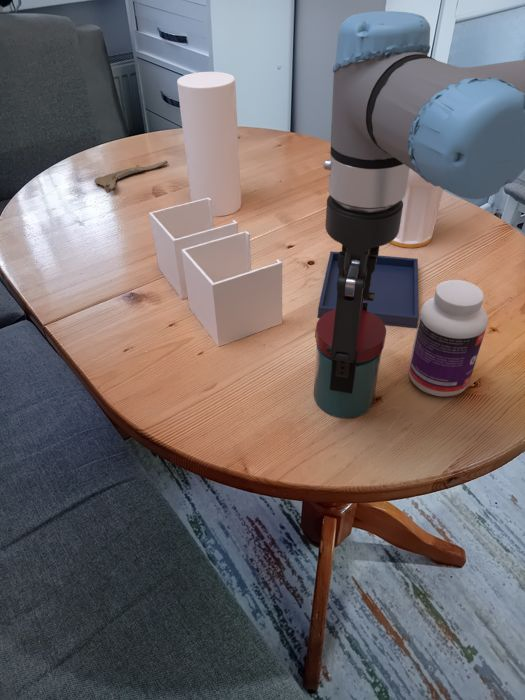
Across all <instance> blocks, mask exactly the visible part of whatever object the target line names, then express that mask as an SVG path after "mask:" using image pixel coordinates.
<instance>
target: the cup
mask: <svg viewBox="0 0 525 700" xmlns="http://www.w3.org/2000/svg"><path fill="white" fill-rule="evenodd" d="M443 193H444V189H442V188H441V187H439V186H434V185H432V184H431V183H430V182H426V181H425V180H424V179H423V178H422V177H421V176H420V175H419V174H417V173H416V172H415V171H413V170H412V169H409V175H408V181H407V188H406V194H405V196H404V198H403V199H402V202H403V209H402V215H401V222H400V228H399V233H398V235H397V236H396V238H395V239H394V240H393V241H391V242H390V243H389V244H391V245H393V246H396V247H400V248H405V249H407V248H408V249H416V248H422V247H424V246H426V245H428V244H429V243H430V242H431V241H432V238H433V234H434V229H435V226H436V222H437V218H438V213H439V208H440V206H441V201H442V196H443Z"/></svg>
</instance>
